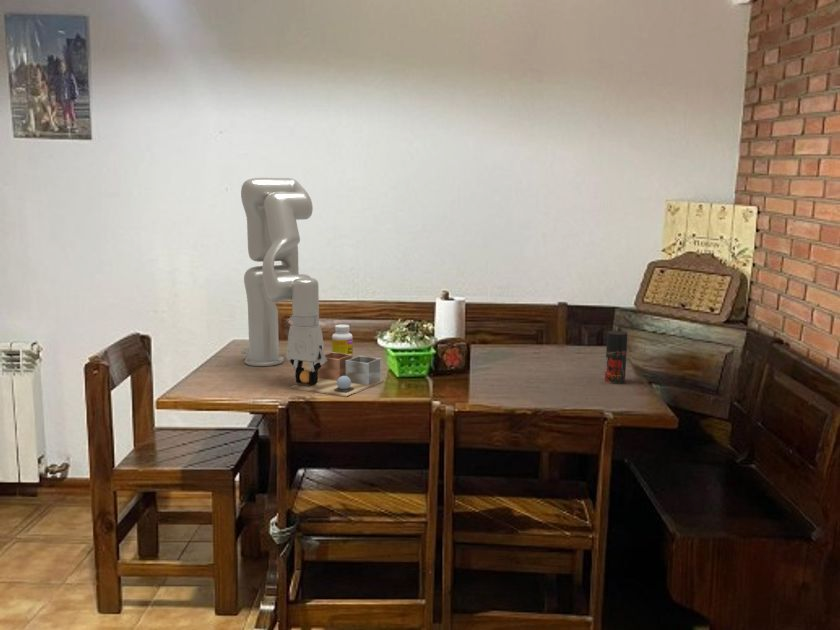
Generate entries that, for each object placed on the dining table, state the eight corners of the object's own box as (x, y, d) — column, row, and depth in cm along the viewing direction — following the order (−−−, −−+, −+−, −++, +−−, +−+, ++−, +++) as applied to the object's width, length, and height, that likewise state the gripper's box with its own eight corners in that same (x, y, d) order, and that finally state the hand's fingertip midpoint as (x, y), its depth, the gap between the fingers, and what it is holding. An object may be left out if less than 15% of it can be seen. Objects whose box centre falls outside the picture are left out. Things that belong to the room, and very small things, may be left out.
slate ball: (334, 390, 230) (334, 376, 229) (342, 387, 234) (341, 373, 233) (346, 392, 228) (346, 378, 228) (353, 388, 232) (353, 375, 231)
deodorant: (600, 379, 247) (603, 331, 245) (617, 378, 250) (619, 330, 247) (612, 384, 242) (614, 335, 239) (629, 382, 244) (631, 333, 242)
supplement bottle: (349, 367, 260) (349, 328, 258) (329, 366, 262) (329, 327, 259) (355, 362, 267) (355, 324, 265) (335, 361, 268) (335, 323, 266)
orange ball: (297, 384, 236) (296, 370, 235) (305, 381, 240) (304, 367, 239) (308, 385, 234) (308, 372, 234) (316, 382, 238) (316, 369, 237)
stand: (291, 388, 235) (290, 364, 234) (330, 373, 252) (330, 351, 251) (346, 397, 226) (346, 372, 225) (383, 381, 243) (383, 358, 242)
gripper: (274, 320, 234) (275, 382, 238) (322, 326, 227) (323, 389, 230) (290, 316, 241) (291, 376, 244) (337, 321, 233) (337, 383, 236)
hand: (306, 382), depth 237 cm, fingers closed on orange ball, 4 cm apart
